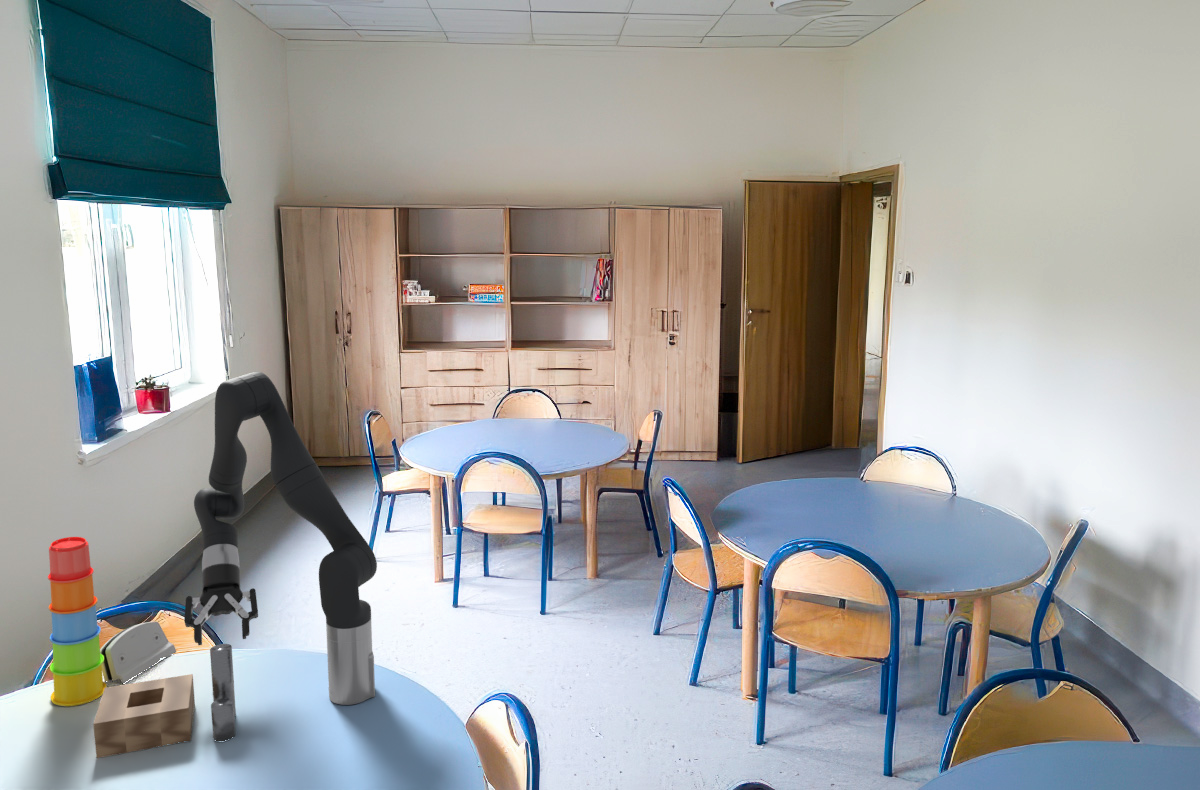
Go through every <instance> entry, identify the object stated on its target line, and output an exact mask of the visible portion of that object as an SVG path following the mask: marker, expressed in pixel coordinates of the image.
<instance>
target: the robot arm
mask: <svg viewBox="0 0 1200 790" xmlns="http://www.w3.org/2000/svg"><path fill="white" fill-rule="evenodd" d="M214 399H215V400H214V449H213V451H214V452H213V455H212V456H213V457H212V460H211V465H210V470H209V474H208V484H209V486H211V487H204V488H202V489H200V490H199V491H197V493H196V494H195V495H194V500H193V507H194V511H195V514H196V517H197V520H198V522H199V525H200V529H201V532H202V543H203V544H202V547H203V549H202V553H203V554H202V559H201V579H202V581H201V582H202V583H201V585H202V587H201V591H202V593H201V595H200V597H192V595H187V596H186V598H185V606H184V622H183V623H184V625H185V627H186V628H193V640H194V642H195V644H197V645H198V646H202V645H203V627H202V626H203V625H204V624H205V622H206V621H208V619H209V618H210V617H211V616H214V617H217V616H222V615H231V614H232V613H234V614H235V615H236V616H237V617H238V618H240V619H241V631H242V632H241V634H242V636H241V637H242V640H246V639H247V637H249V636H250V634H251V633H250V621H251V620H254V619H257V618H258V617H259V610H258V601H257V593H256V589H255V588H250V589H249V590H247V591H242V590H241V575H240V573H241V572H240V568H241V565H240V564H241V563H240V555H239V549H238V531H237V527H236V526H235V525H233V524H231V523H229V522H224V521H220V520H233V519H237V518H239V517H240V516H241V515H242V513H243V512H244V511H245V510H244V509H245V497H244V492H243V480H244V475H245V471H246V467H247V463H248V455H247V451H246V448H245V447H244V445H243V443H242V442H241V440H240V439H239V436H238V435H239V430H240V428H241V425H242V423H244V421H248V420H251V419H253V418H254V419H255V418H257V417H260V418H261V420H262V421H263V423H264V425H265V427H266V429H267V432H268V435H269V437H270V443H271V446H270V449H271V451H270V474H271V479H272V481H273V484H274V485H275V487H276V489H277V490H278V493H280V495H281V497H282V498H283V500H284V502H285V503H286V505H287V506H288V507H289V508H290V509H291V510H292V511H293V512H295V513H296V514H297V515H299V517H301V518H303V519H304V520H306V521H307V522H309V523H310V524H312V525H313V526H314V527H316V528H317V529H318V530H319V531H320V532H321V533H322V535H324V537H325V539H326V540H327V541H328V543H329V545H330V546H331V548H332V551H331V552H329V553H328V554H326V555H325V556H323V558H322V559H321V561H320V564H319V568H318V584H319V585H318V586H319V595H320V605H321V608H322V609H321V610H322V611H323V613H324V615H325V625H326V651H327V654H326V655H327V656H326V657H327V673H328V675H327V677H328V678H327V679H328V697H329V700H330V701H331V702H332V703H334V704H337V705H341V706H343V705H344V706H349V705H350V706H351V705H357V704H361V703H363V702H365V701H367V700H368V699H370V698H375V697H376V684H375V683H376V682H375V680H376V678H375V655H374V652H373V631H372V630H373V629H372V607H371V605H370V603H369V602H368V601H365V600H363V599H360V589H359V587H361V586H362V585H364V584H366V583H367V582H368V581H370V580H371V579H373V577H374V576H375V574H376V573H377V569H378V562H377V558H376V555H375V553H374V552H373V550H372V547H371V546H370V545H369V543H368V542H367V541H366V539H365V538H364V537H363V535H362V534H361V532H360V531H359V530H358V529H357V527H356V526H355V524H354V523H353V522H352V520H351V519H350V518H349V516H348V514H347V513H346V512H345V510H344V508H343V507H342V505H341V503H340V502H339V500H338V499H337V497H336V495H335V494H334V492H333V491H332V489H331V487H330V485H329V484H328V482H327V480H326V478H325V476H324V474H323V473H322V471H321V468H319V466H318V464H317V463H316V461H315V460H314V458H313V456H312V455H311V453H310V452H309V450H308V447H306V445H305V443H304V441H303V440H302V437H301V436H300V434H299V433H298V430H297V429H296V427H295V425H294V423H293V421H292V419H291V417H290V414H289V412H288V410H287V408H286V406H285V404H284V402H283V400H282V398H281V395H280V393H279V391H278V389H277V387H276V385H275V384H274V382H273V381H272V380H271V378H270V377H269V376H268V375H267V374H265V373H263V372H261V371H253V372H249V373H245V374H242V375H240V376H236V377H233V378H229V379H227V380H226V381H223V382H221V383H220V385H218V386H217V389H216V393H215V398H214ZM243 598H244V599H246V601H247V602H250V607H251V608H250V609H251V611H249V612H247V611H246V610H245V609H244V608H243V605H241V604H240V603H241V601H242V600H243ZM199 604H200V605H201V606H202V607H203V608H201V609H202V610H200V611H199V614H198V616H196V618H193V609H196V608H197V607H198V605H199Z"/></svg>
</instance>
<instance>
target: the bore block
mask: <svg viewBox="0 0 1200 790" xmlns="http://www.w3.org/2000/svg"><path fill="white" fill-rule="evenodd" d="M194 688H195V687H194V675H193V673H191V674H190V673H189V674H185V675H179V676H178V675H177V676H172V677H164V678H158V679H152V680H145V681H140V682H132V683H126V684H121V685H115V686H107V687H106V688H105V689H104V692H103V695H102V696H101V699H100V702H99V705H98V708H97V711H96V714H95V718H94V721H93V724H92V725H93V734H94V736H93V737H94V744H95V745H94V746H95V756H96V757H95V758H96V759H99V758H104V757H105V758H106V757H109V756H111V757H112V756H116V755H121V754H126V753H132V751H133V752H138V751H143V749H144V750H149V749H153V747H155V748H159V747H158V746H160V747H164V746H163V745H166V746H168V745H167V744H171V745H175V744H174V743H177V744H179V743H178V742H182V743H185V742H184V741H188V742H191V741H192V735H191V734H192V733H193V726H192V725H193V724H194V717H193V716H195V707H196V703H195V701H196V700H195V689H194ZM190 740H191V741H190Z"/></svg>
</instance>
